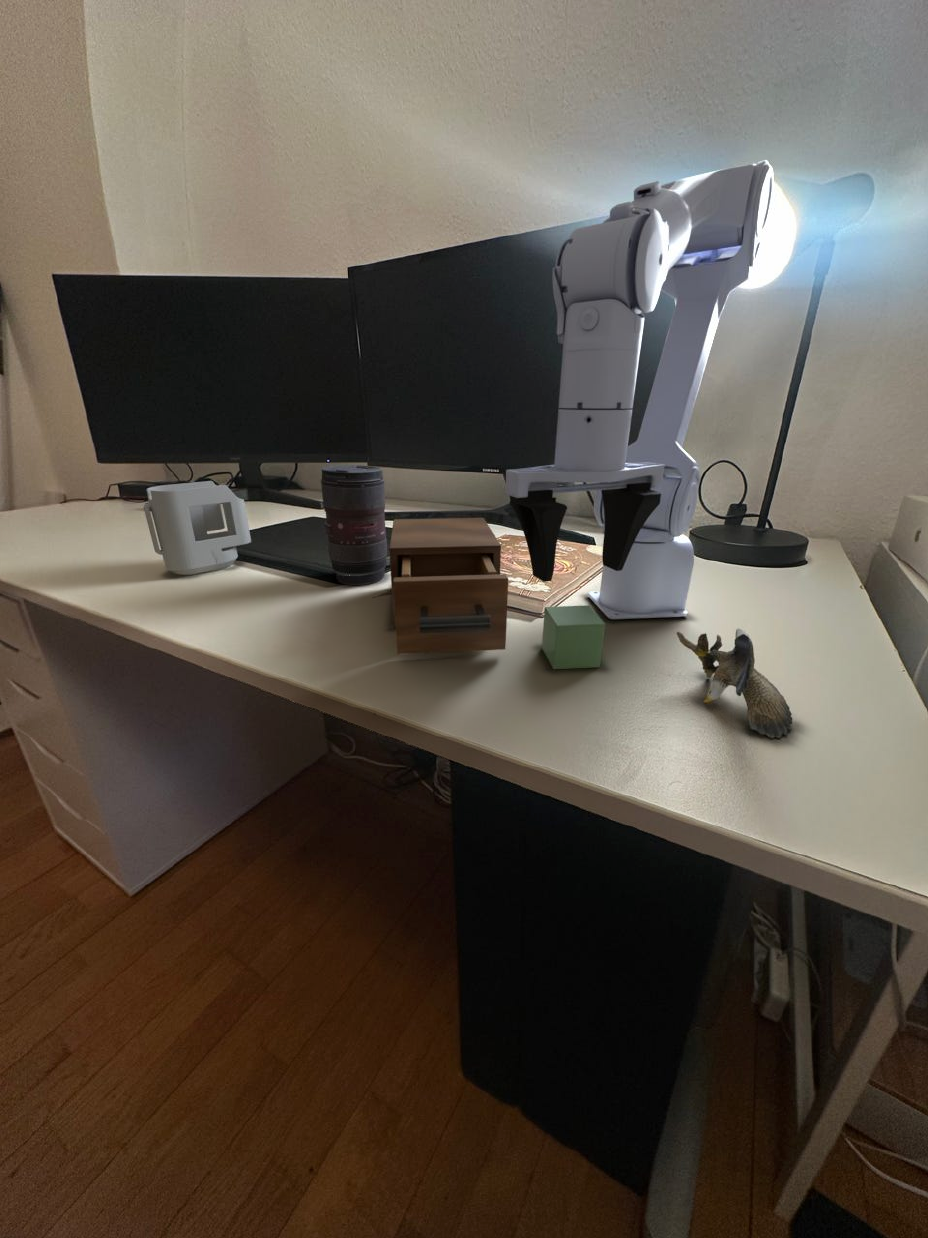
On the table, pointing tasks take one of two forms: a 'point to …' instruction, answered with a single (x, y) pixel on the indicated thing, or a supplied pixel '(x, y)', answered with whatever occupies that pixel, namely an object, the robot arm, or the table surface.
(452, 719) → the table surface
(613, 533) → the robot arm
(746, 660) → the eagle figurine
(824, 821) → the table surface
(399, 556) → the cabinet
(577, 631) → the block
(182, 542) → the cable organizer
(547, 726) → the table surface
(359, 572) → the camera lens
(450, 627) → the drawer
